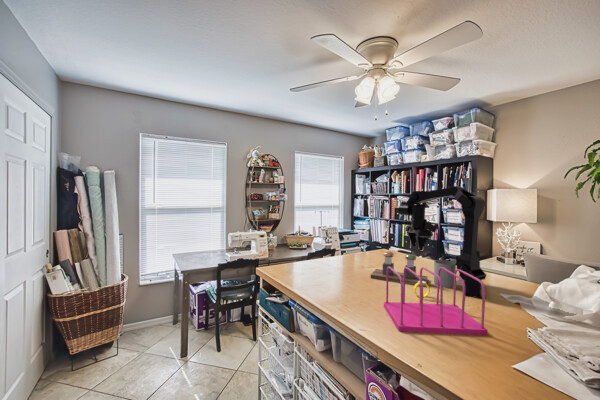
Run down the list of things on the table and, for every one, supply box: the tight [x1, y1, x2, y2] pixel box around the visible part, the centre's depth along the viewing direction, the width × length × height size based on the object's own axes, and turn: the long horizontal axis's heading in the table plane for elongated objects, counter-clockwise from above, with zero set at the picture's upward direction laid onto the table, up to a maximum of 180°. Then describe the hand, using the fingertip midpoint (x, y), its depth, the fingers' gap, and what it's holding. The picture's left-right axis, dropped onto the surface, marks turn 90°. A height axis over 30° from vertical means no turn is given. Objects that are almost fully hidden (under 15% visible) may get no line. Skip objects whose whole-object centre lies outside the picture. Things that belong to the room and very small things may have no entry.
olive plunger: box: [405, 253, 417, 268], centre depth 124 cm, size 5×5×6 cm
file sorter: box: [383, 266, 489, 336], centre depth 85 cm, size 17×25×16 cm
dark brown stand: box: [370, 261, 428, 288], centre depth 126 cm, size 12×24×6 cm, turn 62°
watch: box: [413, 281, 431, 298], centre depth 104 cm, size 6×3×6 cm, turn 94°
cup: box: [433, 259, 457, 289], centre depth 119 cm, size 8×8×10 cm
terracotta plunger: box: [383, 251, 395, 265], centre depth 128 cm, size 5×5×6 cm
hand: (417, 248), depth 130 cm, fingers open, 9 cm apart
